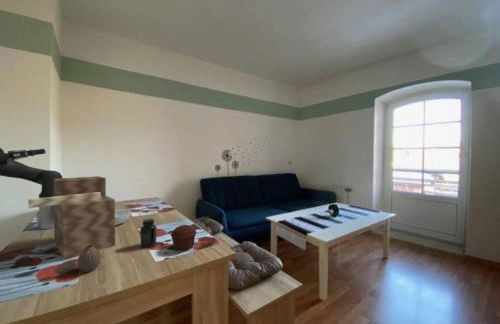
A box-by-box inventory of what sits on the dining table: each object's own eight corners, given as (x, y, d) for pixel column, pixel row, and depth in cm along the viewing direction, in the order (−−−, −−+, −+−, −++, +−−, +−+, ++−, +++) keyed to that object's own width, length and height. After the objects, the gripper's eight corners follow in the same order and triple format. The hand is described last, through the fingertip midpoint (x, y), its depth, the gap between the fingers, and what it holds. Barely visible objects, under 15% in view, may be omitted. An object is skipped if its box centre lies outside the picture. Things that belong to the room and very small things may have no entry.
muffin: (189, 240, 103) (189, 220, 103) (201, 247, 95) (201, 226, 95) (166, 247, 95) (166, 226, 95) (176, 255, 87) (176, 232, 87)
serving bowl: (137, 222, 129) (137, 211, 128) (99, 233, 111) (99, 220, 111) (120, 217, 139) (120, 207, 139) (83, 225, 122) (83, 214, 121)
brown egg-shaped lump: (86, 264, 79) (86, 242, 79) (105, 264, 79) (105, 242, 79) (72, 275, 72) (72, 250, 72) (92, 274, 72) (92, 250, 72)
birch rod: (28, 208, 78) (28, 200, 78) (28, 206, 80) (28, 199, 80) (100, 199, 95) (100, 192, 95) (99, 198, 97) (99, 192, 97)
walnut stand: (63, 260, 82) (63, 184, 81) (54, 242, 98) (53, 178, 98) (115, 245, 96) (114, 180, 95) (99, 231, 112) (98, 176, 111)
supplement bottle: (159, 243, 99) (159, 218, 99) (148, 249, 93) (148, 223, 92) (148, 240, 101) (148, 217, 101) (137, 246, 95) (137, 221, 95)
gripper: (-13, 148, 75) (45, 142, 89) (-24, 150, 81) (31, 144, 95) (-5, 168, 76) (50, 159, 91) (-17, 168, 83) (37, 159, 97)
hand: (40, 151), depth 93 cm, fingers open, 8 cm apart
